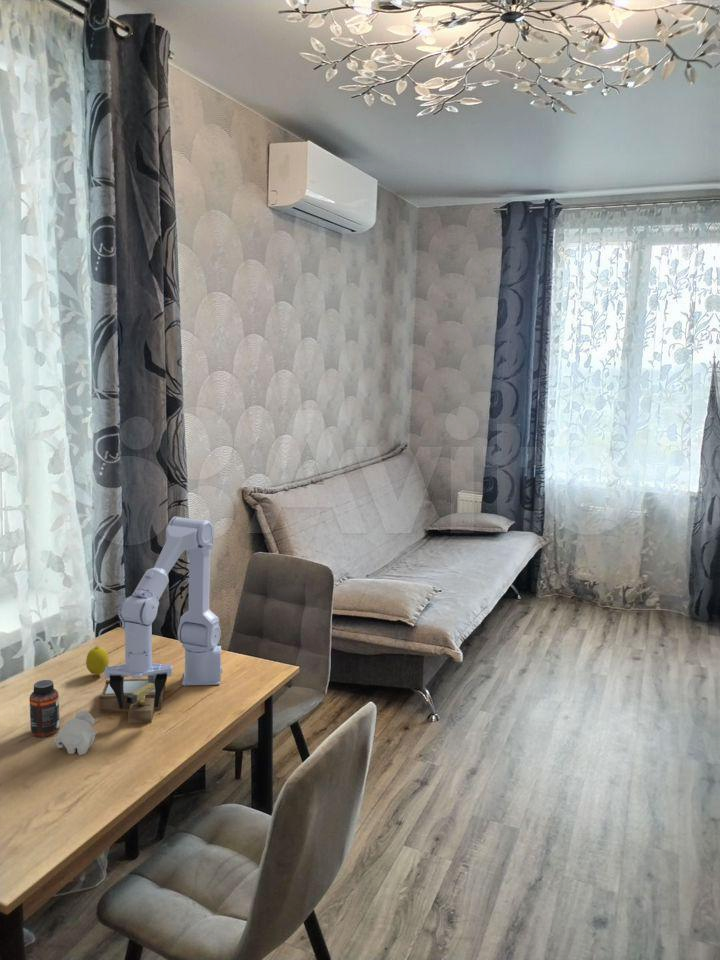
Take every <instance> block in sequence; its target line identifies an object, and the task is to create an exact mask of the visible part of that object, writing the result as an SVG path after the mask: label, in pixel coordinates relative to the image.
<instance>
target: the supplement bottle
mask: <svg viewBox="0 0 720 960" xmlns="http://www.w3.org/2000/svg"><path fill="white" fill-rule="evenodd" d="M54 687H55V685H54V681H53V680H51V679H41V680H39V681H36V682H35V683H34V684H33V691H32V692H31V694H30V695H29V721H30V733H31V734H32V735H33V736H35V737H39V738H42V737H44V738H45V737H49V736H52V735H54V734H57V733H58V731H60V728H61V727H60V725H61V722H60V721H61V720H60V699H59V698H60V695H59V692H58V690H57V689H55V688H54Z"/></svg>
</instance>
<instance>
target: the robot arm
mask: <svg viewBox="0 0 720 960" xmlns="http://www.w3.org/2000/svg"><path fill="white" fill-rule="evenodd" d="M214 527H215V526H214V525H213V524H212V522H211V521H210V520H207V519H198V518H197V519H195V518H187V517H181V516H173V517H172V518H171V519H170V520H169V522H168V523H167V526H166V528H165V537H166V541H165V543H164V545H163V547H162V550H161V552H160V553H159V556H158V558H157V559H156V562H155V564H154V566H153V567H152V568H149V569H147V570H146V571H145V573H144V574H143V575H142V577H141V578H140V581H139V582H138V584H137V586H136V588H135V589H134V591H133V593H132V594H131V595H129V596H128V597H125V598H124V599H123V600H122V601H121V603H120V608H119V611H118V618H119V620H120V621H121V623H122V625H121V627H122V629H123V630H124V642H125V643H124V645H125V646H124V647H125V648H124V651H125V652H124V653H125V663H124V664H119V665H113V666H108V667H106V668H105V671H104V679H109V680H110V681H109V684H110V687H111V688H112V689H113V691H114V693H115V695H116V697H117V700H118V703H119V708H120V709H122V708H123V706H124V691H123V684H124V679H125V677H128V678H129V677H131V679H142V677H148V676H156V678H155V707H158V705H159V698H160V694H161V692H162V689H163V687H164V685H165V686H166V683H167V680H168V679H167V678H168V677H173V673H174V672H173V670H174V669H173V664H162V663H153V635H152V633H153V630H152V629H153V627H152V626H153V625H152V624H153V622H154V621H155V619H157V615H158V610H159V609H158V608H159V606H160V601H159V600H160V599H161V597H162V595H163V593H164V592H165V590H166V588H167V586H168V584H169V582H170V580H169V577H168V575H169V573H170V571H171V570H172V569H173V567H174V566H175V564H176V563H177V561H178V560H179V558H180V557H181V555H182V554H183V553H184V551H187V552H188V553H189V556H188V557H189V560H188V561H189V562H188V569H189V571H188V611H186V612H185V613H183V614H182V615H181V616H180V618H179V625H178V628H177V633H176V634H177V640H178V642H179V643H180V644H181V646H182V648H184V673H183V678H182V686H210V685H211V686H212V685H213V686H214V685H221V677H222V675H223V666H222V646H221V645H218V644H219V643H220V641H221V640H220V639H221V637H222V631H221V627H220V618H219V617H218V616H217V615H216V614H215V613H214V612H213V611H212V610H211V609H210V586H211V585H210V584H211V583H210V582H211V581H210V579H211V574H210V573H211V550H213V549H214V543H215V542H214V541H215V539H214V538H215V537H214V535H215V528H214Z"/></svg>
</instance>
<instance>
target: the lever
mask: <svg viewBox="0 0 720 960" xmlns="http://www.w3.org/2000/svg"><path fill="white" fill-rule="evenodd" d="M154 689H155V684H153V683H148V684H147V685H145V686H144V687H142V688H140V689H139V690H137V691H136V692H134V693H133V694H130V695H129V696H127V703H129V704H134V703H135V702H137V701H138V706H144V705H145V695H147V694H148V693H150V692H151V691H153V690H154Z"/></svg>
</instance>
